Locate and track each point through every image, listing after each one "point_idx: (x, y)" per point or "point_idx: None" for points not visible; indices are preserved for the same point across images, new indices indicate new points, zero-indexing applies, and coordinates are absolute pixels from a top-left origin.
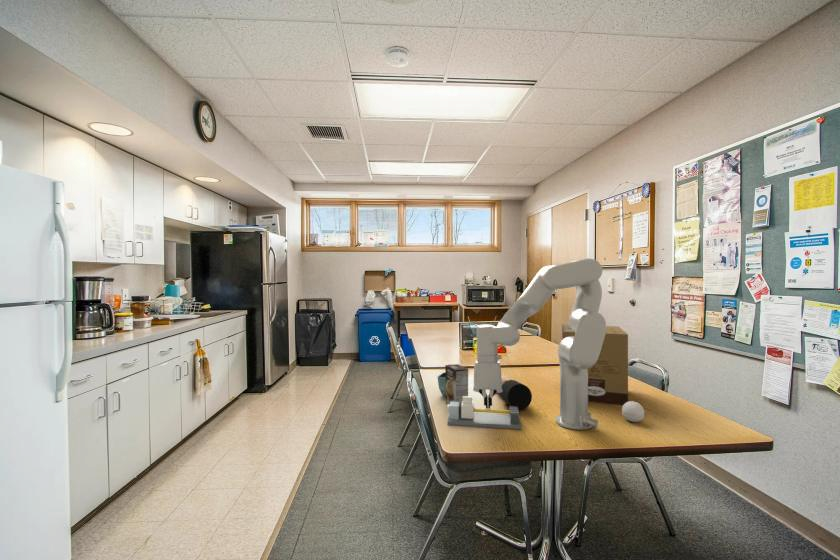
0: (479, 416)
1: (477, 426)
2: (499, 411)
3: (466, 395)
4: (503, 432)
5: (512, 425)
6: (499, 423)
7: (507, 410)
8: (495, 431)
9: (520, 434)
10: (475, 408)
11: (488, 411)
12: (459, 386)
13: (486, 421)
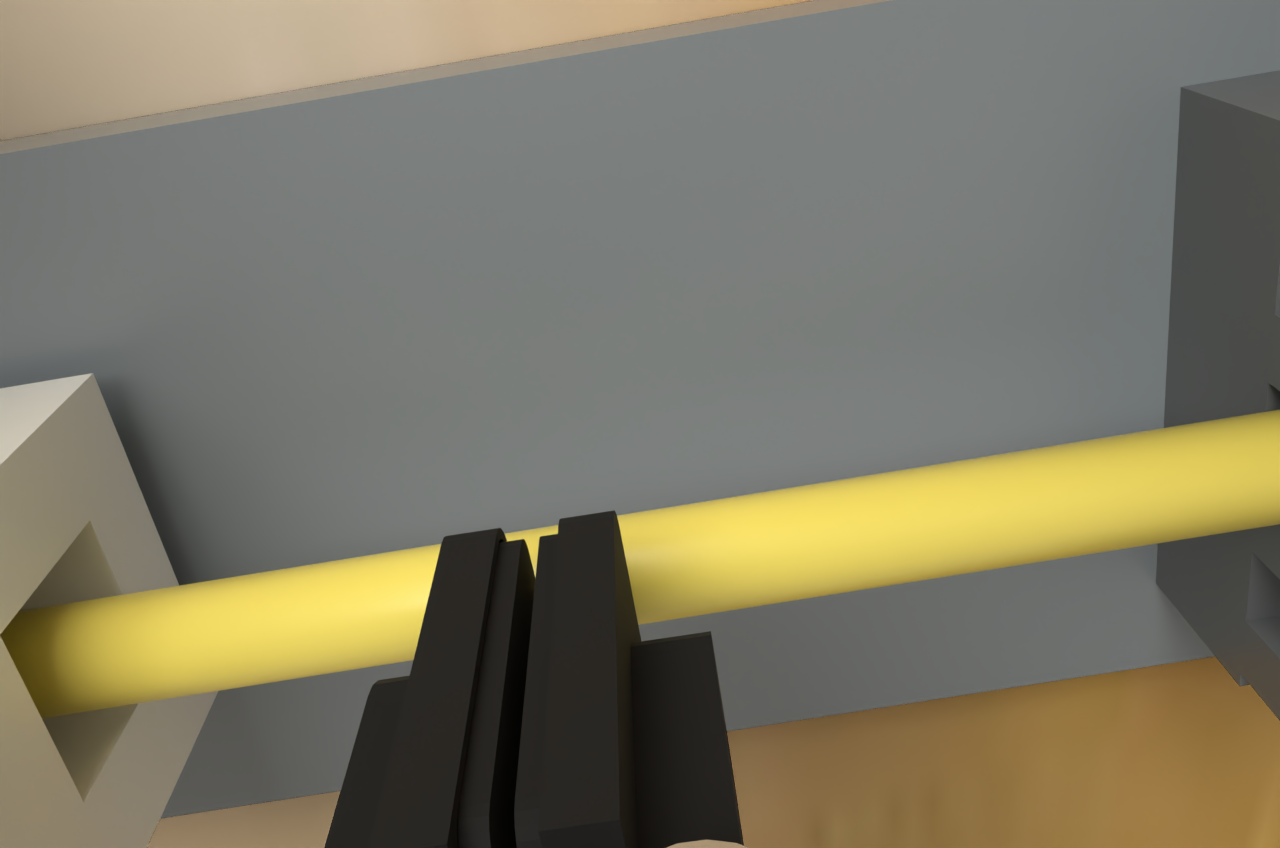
0: (298, 389)
1: None
2: (948, 571)
3: None
4: (954, 806)
5: (1188, 658)
6: (887, 650)
7: (1238, 514)
8: (797, 813)
9: (1276, 788)
10: (131, 677)
11: None
12: None
13: None
